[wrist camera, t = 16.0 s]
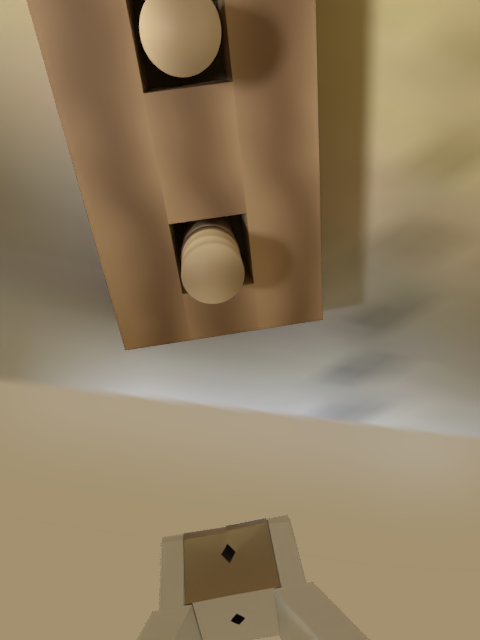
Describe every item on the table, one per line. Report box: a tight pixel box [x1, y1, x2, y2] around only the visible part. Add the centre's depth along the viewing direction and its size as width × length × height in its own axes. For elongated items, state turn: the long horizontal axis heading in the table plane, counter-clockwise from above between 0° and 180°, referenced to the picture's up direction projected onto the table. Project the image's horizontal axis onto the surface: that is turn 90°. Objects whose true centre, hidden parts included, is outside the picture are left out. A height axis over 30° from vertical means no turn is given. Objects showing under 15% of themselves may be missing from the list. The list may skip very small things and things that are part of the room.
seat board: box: [27, 0, 323, 350], centre depth 28 cm, size 14×24×4 cm, turn 6°
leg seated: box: [139, 0, 221, 77], centre depth 24 cm, size 4×4×8 cm
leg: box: [181, 216, 245, 304], centre depth 30 cm, size 4×4×8 cm
